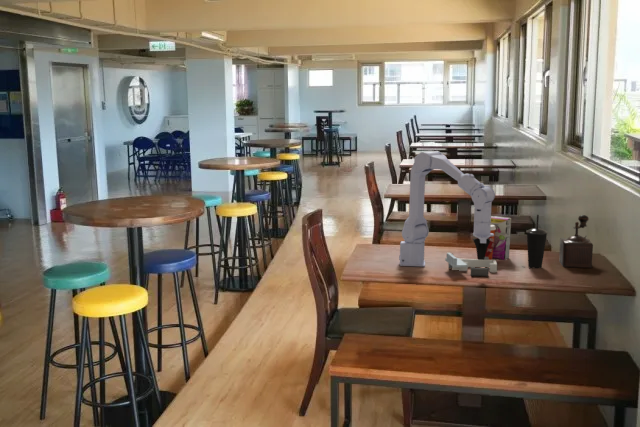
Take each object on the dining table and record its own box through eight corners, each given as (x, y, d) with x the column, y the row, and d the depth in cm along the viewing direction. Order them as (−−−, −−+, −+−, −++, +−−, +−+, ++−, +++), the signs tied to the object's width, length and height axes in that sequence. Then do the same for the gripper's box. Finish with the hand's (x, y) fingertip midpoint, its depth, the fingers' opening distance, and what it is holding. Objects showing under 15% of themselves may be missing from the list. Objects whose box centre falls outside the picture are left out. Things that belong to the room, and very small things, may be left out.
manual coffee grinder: (594, 268, 250) (597, 221, 247) (563, 267, 252) (566, 220, 249) (585, 258, 266) (588, 214, 262) (556, 257, 267) (558, 213, 264)
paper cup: (495, 262, 259) (496, 227, 257) (474, 262, 260) (476, 226, 258) (493, 258, 267) (495, 223, 264) (474, 257, 268) (475, 223, 266)
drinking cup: (523, 268, 251) (526, 215, 247) (525, 263, 258) (527, 212, 254) (545, 270, 248) (548, 217, 245) (545, 265, 255) (548, 213, 252)
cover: (445, 260, 249) (445, 251, 249) (458, 259, 250) (458, 251, 249) (453, 267, 239) (453, 258, 238) (467, 267, 239) (467, 258, 238)
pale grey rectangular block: (448, 270, 248) (449, 255, 247) (448, 265, 256) (448, 251, 255) (496, 272, 245) (497, 257, 244) (494, 266, 253) (495, 252, 252)
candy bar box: (478, 256, 269) (479, 216, 266) (482, 254, 273) (484, 214, 270) (505, 260, 263) (507, 219, 260) (509, 258, 267) (511, 217, 264)
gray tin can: (470, 273, 243) (471, 277, 240) (471, 265, 242) (471, 270, 239) (487, 273, 242) (488, 278, 239) (488, 266, 241) (488, 270, 238)
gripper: (496, 225, 226) (494, 264, 229) (492, 218, 241) (490, 254, 243) (474, 224, 228) (473, 263, 230) (472, 217, 242) (471, 254, 244)
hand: (480, 259), depth 236 cm, fingers closed
